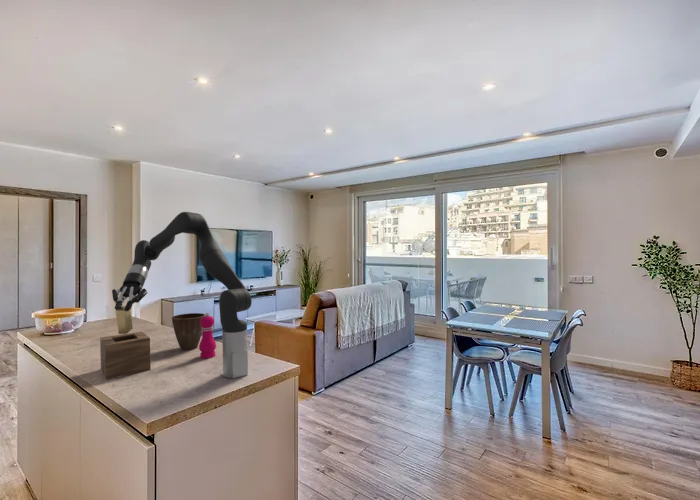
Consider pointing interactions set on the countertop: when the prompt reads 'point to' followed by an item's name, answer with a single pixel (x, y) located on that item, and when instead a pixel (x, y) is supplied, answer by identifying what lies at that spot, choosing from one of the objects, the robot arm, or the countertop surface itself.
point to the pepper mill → (207, 337)
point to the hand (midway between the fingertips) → (121, 310)
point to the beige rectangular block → (123, 320)
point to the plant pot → (188, 330)
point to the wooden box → (125, 354)
